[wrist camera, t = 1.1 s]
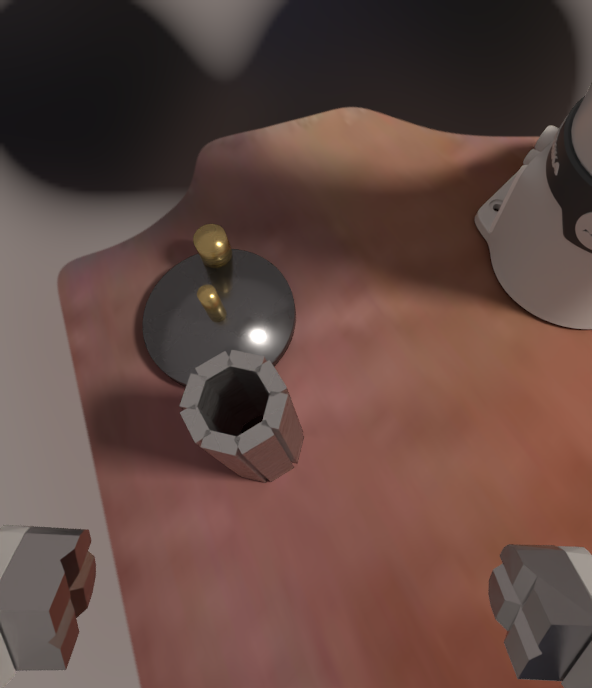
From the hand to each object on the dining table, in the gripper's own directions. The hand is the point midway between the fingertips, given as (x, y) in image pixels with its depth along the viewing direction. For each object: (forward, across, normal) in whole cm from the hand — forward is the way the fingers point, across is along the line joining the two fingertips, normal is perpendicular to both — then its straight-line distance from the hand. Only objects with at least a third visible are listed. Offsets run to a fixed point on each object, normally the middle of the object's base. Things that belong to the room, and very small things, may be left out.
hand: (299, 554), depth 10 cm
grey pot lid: (+35, +5, +14) cm, 38 cm away
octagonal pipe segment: (+25, 0, +20) cm, 32 cm away
